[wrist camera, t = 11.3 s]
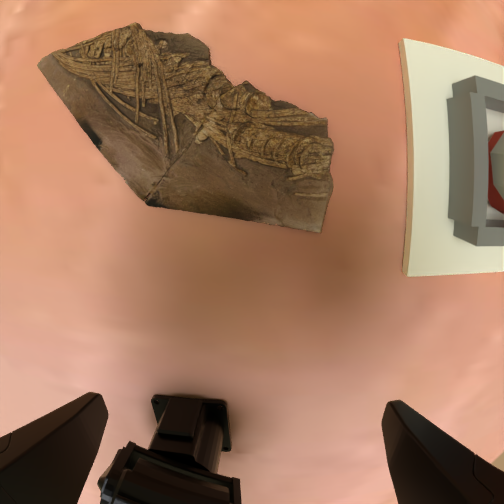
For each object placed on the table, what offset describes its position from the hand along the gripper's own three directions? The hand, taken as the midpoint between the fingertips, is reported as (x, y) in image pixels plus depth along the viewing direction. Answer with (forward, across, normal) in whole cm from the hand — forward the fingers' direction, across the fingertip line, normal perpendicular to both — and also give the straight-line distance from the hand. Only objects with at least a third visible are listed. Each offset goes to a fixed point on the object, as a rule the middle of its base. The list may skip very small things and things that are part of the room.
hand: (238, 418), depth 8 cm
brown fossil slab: (+14, +6, -11) cm, 19 cm away
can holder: (+13, -18, -8) cm, 24 cm away
